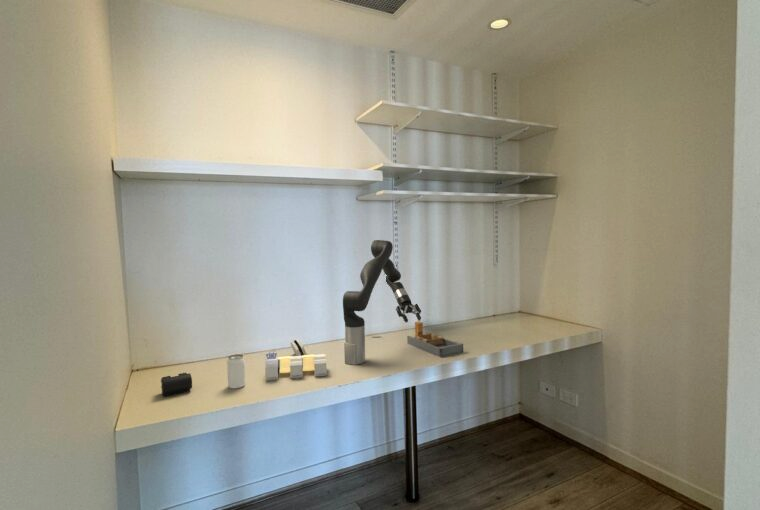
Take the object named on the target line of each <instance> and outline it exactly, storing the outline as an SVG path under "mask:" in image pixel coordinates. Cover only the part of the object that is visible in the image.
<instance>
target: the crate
mask: <svg viewBox="0 0 760 510" xmlns="http://www.w3.org/2000/svg"><path fill="white" fill-rule="evenodd" d="M423 325H424V324H423V322H422V321H421V320H420V321H415V322H414V336H415V337H414V338H416V339H419V340H421V341H424V342H426V343H429V344H431V345H434V346H440V345H444V338H445V337H443V336H440V335H436V334H434V333H431V334H427V333H425V334H424V333H423V331H424V330H423V328H424V327H423Z"/></svg>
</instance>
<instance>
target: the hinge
mask: <svg viewBox="0 0 760 510" xmlns="http://www.w3.org/2000/svg"><path fill="white" fill-rule="evenodd" d="M289 344H290V346H291V348H292V350H293V353H294V356H303V355H309V354H308V353H307V352H306V350H305V347H304V346H303V344H302V342H301V340H299V339H298V338H296V339H294V340H292V341H291V342H290V343H289Z"/></svg>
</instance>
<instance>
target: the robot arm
mask: <svg viewBox="0 0 760 510" xmlns="http://www.w3.org/2000/svg"><path fill="white" fill-rule="evenodd" d="M393 248H394V246H393V243H392V242H391V240H384V239H376V240H373V241H372V243H371V245H370V251H371V254H372V256H373V258H372V259H370V260H369V261H367V262H366V263H365V264H364V266H363V268H362V269H361V271H360V274H359V276H360V277H359V278H360V281H361V284H362V289H361V290H359V291H358V290H346V291H345V292H344V294H343V296H342V309H343V311H342V312H343V321H344V337H345V338H344V339H345V341H344V351H343V352H344V364H348V365H353V366H356V365H361V364H363V363H364V364H365V363H366V333H365V332H366V328H365V327H366V326H365V325H366V324H365V323H366V322H365V319H364V318H363V317H361V316H359V315H358V314H357V313H356V312H363V311H365V310H366V308H367V306H368V304H369V301H370V300H371V297H372V293H373V290H374V288H375V285H376V284H377V282H378V280H379V277H380V276H381V273H382V271H383V272H384V275H385V274H386V275H387V276H386V282H387V283H386V282H385V283H386V284H387V285H388V286H389V287H390V290H392V293H393V295H394V298H395V300H396V303H397V304H398V305H397V306H396V308H395V310H396V313H397V315H398V318H400V317H401V318H402V319H403V321H404V322H405V323H408V322H409V319H408V316H407V315H406V314H413V315H415V316H416V318H417V322H419V321H420V322H421V319H422V317H421V313H422V310H421V308H420V307H419V305H418V303H416V304H413V303H412V300H411V298H410V296H409V294H408V292H407V291H406V288H405V287H404V285H403V283H402V282H400V280H401V278H402V274H401V272H400V270H398V269H397V268H396V267H395V264H394V262H393V261H392V259H390V258H391V257H390V256H391V255H392V253H393Z"/></svg>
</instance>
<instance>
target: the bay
mask: <svg viewBox="0 0 760 510" xmlns="http://www.w3.org/2000/svg"><path fill="white" fill-rule="evenodd" d="M426 334H431V333H430V332H426ZM443 338H444V345H440V346H434V345H431V344H429V343H426V342H424V341H421V340H419V339H416V338H415V337H413V336H410V335H406V340H407V341H406V342H407V344H408V345H411V346H413V347H415V348H418V349H420V350H422V351H425V352H427V353H429V354H430V355H431V354H432V355H433V356H436V357H438V358H445V357H449V356H455V355H460V354H464V343H458V342H456V341H453V340H450V339H447V338H445V337H443Z"/></svg>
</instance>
